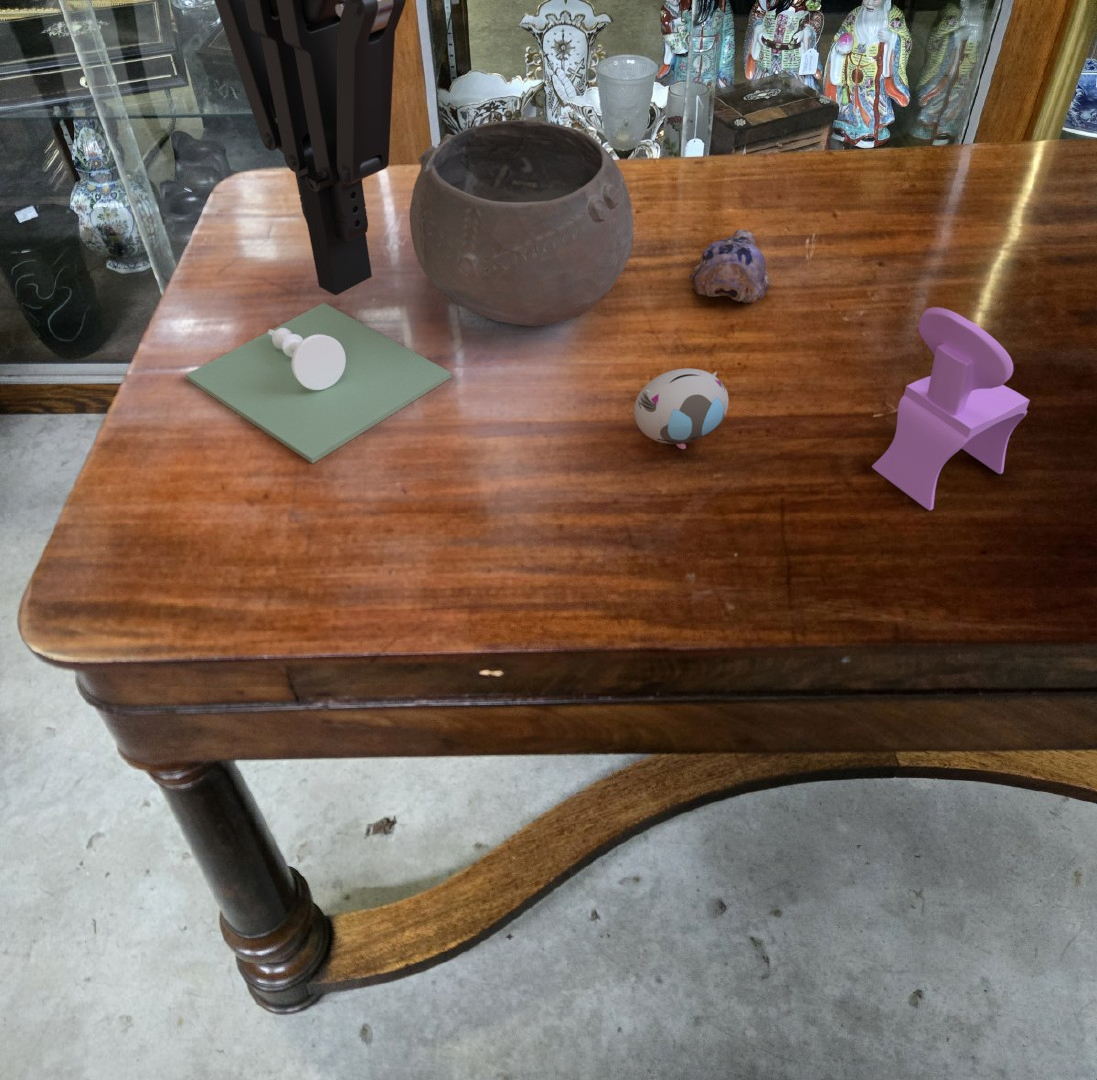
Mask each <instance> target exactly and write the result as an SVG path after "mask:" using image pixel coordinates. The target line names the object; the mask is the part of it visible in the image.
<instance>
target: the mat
mask: <svg viewBox="0 0 1097 1080" xmlns="http://www.w3.org/2000/svg"><path fill="white" fill-rule="evenodd" d="M279 328H287V329H288V330H290V331H291V333H292V334H297V335H299V336H301V337H302V339H303V340H304V339H305V338H307V337H309V336H312V335H317V334H321V335H326V336H330V337H332V338H334V339H336V340H337V341H338V342H339V343H340V344H341V346H342V347H343V349H344V352H345V357H346V364H345V369H344V371H343V374H342V375H341V377H340V378H339V380H338V381H337V382H336V383H335V384H334V385H332V386H331V387H329V388H326V389H323V390H311V389H308V388H306V387H304V386H303V385H302V384H301V383H300V382H299V381H298V380H297V379H296V377H295V375H294V373H293V370H292V357H289V356H287V355H286V354H285V353H284V352H283V349H278V348H276V347H275V346H274V344H273V342H272V335H270V334H268V331H267V332H265V333H263V334H260V335H258V336H257V337H255V338H253V339H251V340H249V341H247V342H246V343H244V344H242V345H240V346H238V347H236V348H234V349H232V350H230V351H228V352H226V353H224V354H223V355H220V356H218V357H217V358H214V359H212V360H210V361H209V362H207V363H205V364H203V365H201V366H200V367H198V368H196V369H194V370H192V371H190V372H188V373H186V374H185V376H186V377H185V378H186V380H187V381H189V382H190V383H192V384H193V385H194V386H196V387H198V388H199V389H200V390H201V391H203V392H204V393H206V394H208V395H209V396H211V397H212V398H214V399H215V400H217V401H218V402H220V403H221V404H222V405H224V406H226V407H227V408H229V409H230V410H231V411H233V412H234V413H236V414H238V416H240V417H242V418H243V419H245V420H246V421H248V422H250V423H251V424H253V425H254V426H255V427H257V428H259V429H260V430H261V431H263V432H265V433H266V434H267V435H268V436H270V437H272V438H274V439H275V440H276V441H277V442H280V443H281V444H283V445H284V446H285V447H287V448H288V449H290V450H291V451H293V452H294V453H295V454H296V455H299V456H300V457H301V458H303V459H305V460H306V461H308V463H311V464H312V465H313V464H315V463H316V462H318V461H320V460H322V459H323V458H324V457H326V456H328V455H329V454H331V453H333V452H335V451H336V450H337V449H339V448H340V447H342V446H344V445H345V444H347V443H349V442H350V441H352V440H353V439H355V438H357V437H358V436H360V435H361V434H363V433H365V432H366V431H367V430H368V431H369V429H371V428H373V427H374V426H376V425H378V424H379V423H381V422H382V421H384V420H386V419H388V418H389V417H390V416H393V415H394V414H395V413H397V412H398V411H400V410H402V409H403V408H405V407H407V406H408V405H410V404H411V403H413V402H415V401H416V400H418V399H420V398H421V397H422V396H425V394H427V393H429V392H430V391H432V390H434V389H436V388H437V387H439V386H440V385H442V384H443V383H445V382H447V381H449V380H450V379H452V372H451V371H450V370H448V369H446V368H444V367H442V366H440V365H439V364H437V363H435V362H434V361H431V360H429V359H428V358H427V357H424V356H422V355H421V354H419V353H417V352H415V351H413V350H411V349H410V348H407V347H406V346H404V345H402V344H400V343H399V342H397V341H395V340H393V339H391V338H390V337H387V336H386V335H384V334H382V333H380V332H379V331H376V330H374V329H373V328H371V327H369V326H367V325H365V324H364V323H362V322H360V321H358V320H356V319H355V318H353V317H352V316H349V315H347V314H346V313H344V312H342V311H340V310H339V309H336V308H335V307H332V306H331V305H329V304H327V303H325V302H322V303H320V304H318V305H317V306H315V307H313V308H310V309H308V310H307V311H305V312H302V313H301V314H299V315H297V316H295V317H293V318H291V319H289V320H288V321H286V322H283V323H281V324H280V325H278V326H276V327H274V328H272V329H271V330H274V331H276V330H277V329H279Z"/></svg>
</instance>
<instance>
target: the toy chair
mask: <svg viewBox="0 0 1097 1080" xmlns="http://www.w3.org/2000/svg"><path fill="white" fill-rule="evenodd" d="M918 334H919V335H920V337H921V339H922V340H923V342H924V343H925V344H926V346H927V347H928V349H930V351H931V353H932V355H933V356H934V357H933V363H932V369H931V374H930V375H929V376H926V377H923V378H921V379H918V380H915V381H914V382H912V383H910V384H907V385H906V386H905V390H904V393H903V396H902V397H901V398H900V400H899V402H898V405H897V414H896V415H897V417H896V428H895V434H894V437H893V440H892V442H891V444H890V446H889V447H888V449H887V450H886V451H885V452H884V453H883V454H882V455H881V456H880V457H879V459H877V460H876V462H874V463H873V464H872V465H871V468H872V469H873V470H874V471H876V472H877V473H878V474H879V475H881V476H882V477H884V479H886V480H887V481H888V482H890V483H892V484H893V485H894V486H895V487H897V488H898V489H899V490H901V491H902V492H903V493H905V494H906V495H907V496H909V497H910V498H912V500H914V501H915V502H916V503H918V504H919V505H921V506H922V507H923V508H925V509H926V510H928V511H929V512H930V511H933V509H934V506H935V496H936V488H937V482H938V478H939V475H940V472H941V470H942V469H943V467H944V465H945V464H946V463H947V462H948V460H950V458H952V457H953V456H954V455H955V454H956V453H958V452H959V451H960V450H963V451H965V452H966V453H967V454H969V455H970V456H972V457H973V458H975V459H976V460H978V461H979V462H981V463H982V464H983V465H985V466H986V467H988V468H989V469H990V470H992V471H993V472H995V473H996V474H998V475H1001V474H1003V473H1004V469H1005V461H1006V453H1007V448H1008V443H1009V440H1010V436H1011V435H1012V433H1013V431H1014V429H1015V428H1016V427H1017V425H1018V424H1019V423H1020V422H1021V421H1022V420H1023V419H1024V418H1025V417H1026V415H1027V413H1028V410H1027V408H1028V406H1029V403H1030V401H1031V400H1030V399H1029V398H1027V397H1025V396H1024V395H1022V394H1021V393H1019V392H1017V391H1016V390H1013V389H1012V388H1010V387H1008V386H1006V385H1004V384H1006V382H1008V380H1010V379H1011V377H1012V375H1013V373H1014V363H1013V360H1012V357H1011V356H1010V355H1009V353H1008V351H1007V350H1006V349H1005V348H1004V347H1003V346H1002V345H1001V344H1000V343H999V342H998V341H997V340H996V339H995V338H994V336H992V335H990V334H989V333H988V332H987V331H986V330H984V329H983V328H982V327H980V326H979V325H977V324H976V323H974V322H972V321H970V320H969V319H967V318H965V317H964V316H962V315H960V314H959V313H956V312H955V311H952V310H950V309H946V308H943V307H939V306H938V307H937V306H935V307H929V308H926V310H925V311H923V312H922V314H921V316H920V319H919V321H918Z"/></svg>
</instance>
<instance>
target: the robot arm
mask: <svg viewBox="0 0 1097 1080" xmlns="http://www.w3.org/2000/svg"><path fill="white" fill-rule="evenodd" d="M406 2H407V0H214V3H215V7H216V9H217V13H218V15H219V18H220V21H221V24H222V26H223V29H224V32H225V36H226V38H227V39H226V40H227V42H228V45H229V47H230V50H231V54H232V56H233V57H232V58H233V60H234V63H235V66H236V68H237V71H238V74H239V77H240V81H241V83H242V86H243V89H244V93H245V95H246V97H247V98H246V99H247V100H248V104H249V106H250V109H251V112H252V115H253V119H254V121H255V125H256V128H257V131H258V133H259V136H260V138H261V141H262V144H263V146H264V147H265V148H266V149H267V150H268V151H270V152H273V151H276V150H278V151H280V152H281V153H282V154H283V157H284V161H285V164H286V166H287V168H289V170H290V171H292V172H293V173H294V174H295V180H296V184H297V190H298V195H299V200H300V204H301V205H300V206H301V210H302V215H303V216H304V220H305V223H306V224H307V231H308V234H309V241H310V245H311V246H310V247H311V252H312V256H313V262H314V267H315V272H316V277H317V283H318V288H321V289H322V290H324V291H326V292H328V293H330V294H332V295H334V296H338V295H340V294H342V293H344V292H346V291H348V290H349V289H352V288H353V287H355V286H357V285H359V284H361V283H363V282H365V281H366V280H368V279H371V278H372V277H373V272H372V266H371V260H370V252H369V246H368V240H367V234H366V233H367V232H368V228H369V220H368V215H367V214H368V213H367V208H366V201H365V192H364V186H363V180H364V179H365V178H368V177H370V176H373V175H374V174H378V173H379V172H381V171H383V170H385V169H387V168H388V167H389V164H390V163H389V162H390V146H391V145H390V142H391V124H392V123H391V122H392V104H393V103H392V102H393V83H394V81H393V80H394V79H393V78H394V61H395V40H396V39H395V38H396V30H397V27H398V25H399V23H400V19H401V16H402V14H403V11H404V8H405V6H406Z"/></svg>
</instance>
